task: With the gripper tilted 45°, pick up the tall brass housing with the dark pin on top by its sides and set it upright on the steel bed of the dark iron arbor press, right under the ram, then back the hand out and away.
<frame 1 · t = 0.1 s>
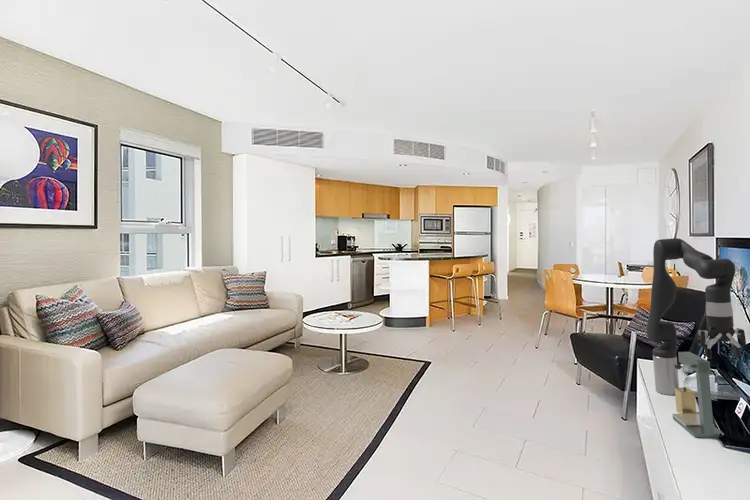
hand: (722, 357, 150), 29 cm above the tv stand, fingers open, 8 cm apart
arbor press: (692, 424, 161), on the tv stand
brass housing: (686, 413, 170), on the tv stand
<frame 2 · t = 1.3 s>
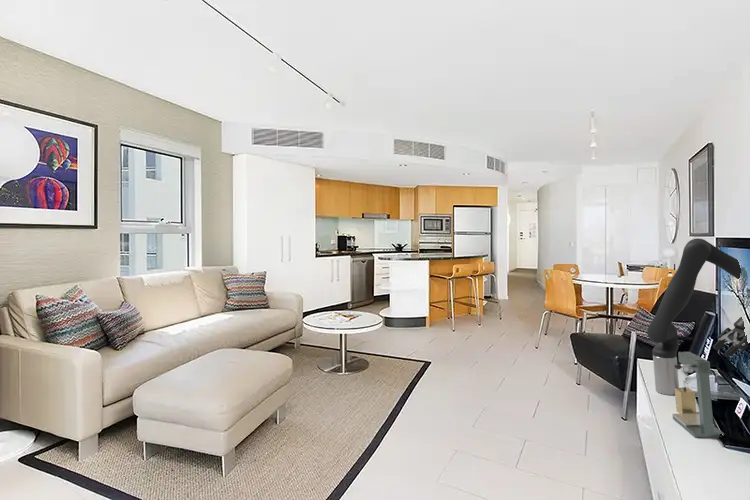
hand: (721, 351, 167), 25 cm above the tv stand, fingers open, 8 cm apart
nothing on the tv stand moved.
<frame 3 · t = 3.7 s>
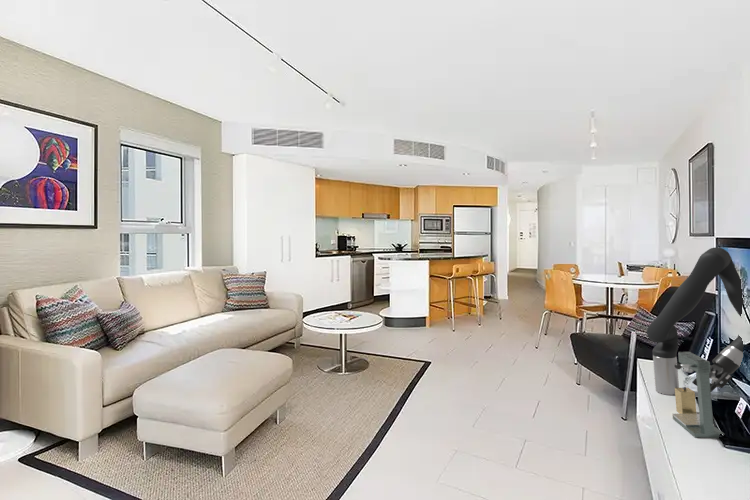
hand: (700, 387, 169), 11 cm above the tv stand, fingers open, 8 cm apart
nothing on the tv stand moved.
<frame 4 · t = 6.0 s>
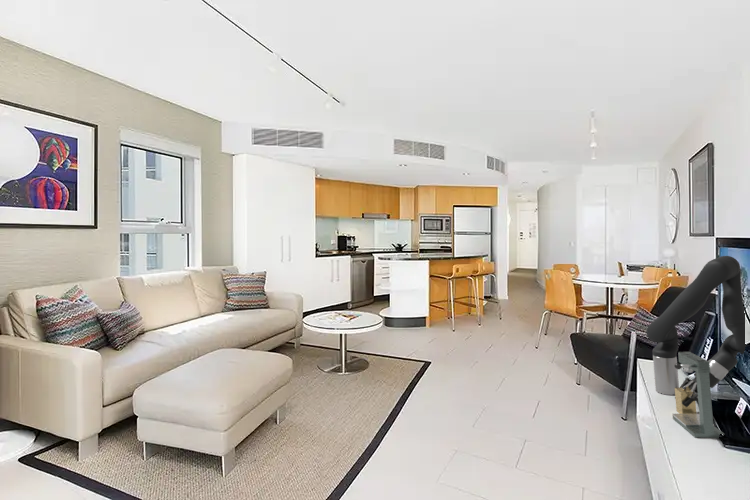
hand: (680, 402, 170), 5 cm above the tv stand, fingers closed on brass housing, 5 cm apart
brass housing: (686, 413, 170), on the tv stand, touching gripper
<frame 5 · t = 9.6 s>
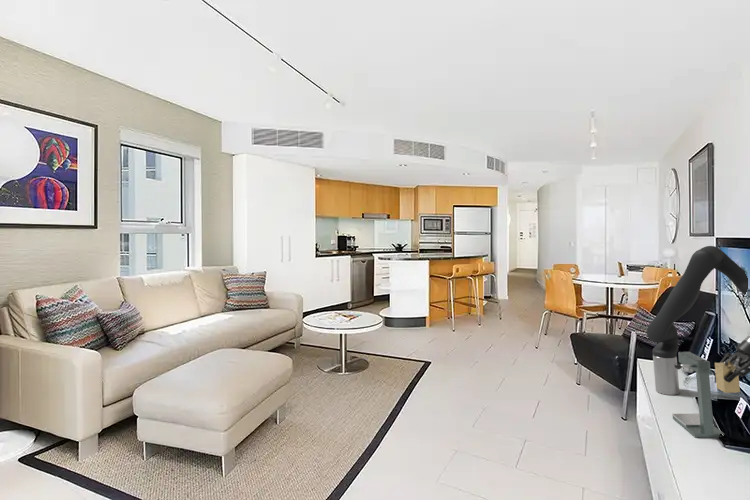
hand: (721, 378, 158), 18 cm above the tv stand, fingers closed on brass housing, 5 cm apart
brass housing: (728, 390, 158), point 13 cm above the tv stand, touching gripper
when the fingers open (8 cm above the tv stand, at t = 13.1 s): brass housing drops 1 cm, resting on arbor press.
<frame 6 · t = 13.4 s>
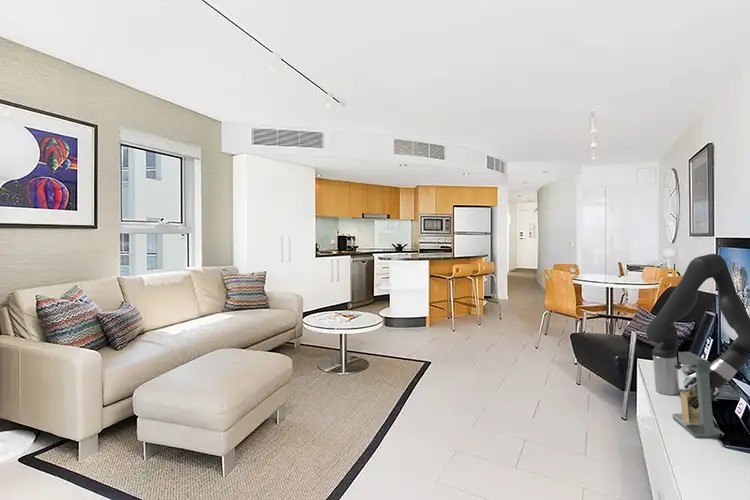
hand: (687, 403, 161), 8 cm above the tv stand, fingers open, 7 cm apart
brass housing: (692, 419, 161), point 2 cm above the tv stand, touching arbor press
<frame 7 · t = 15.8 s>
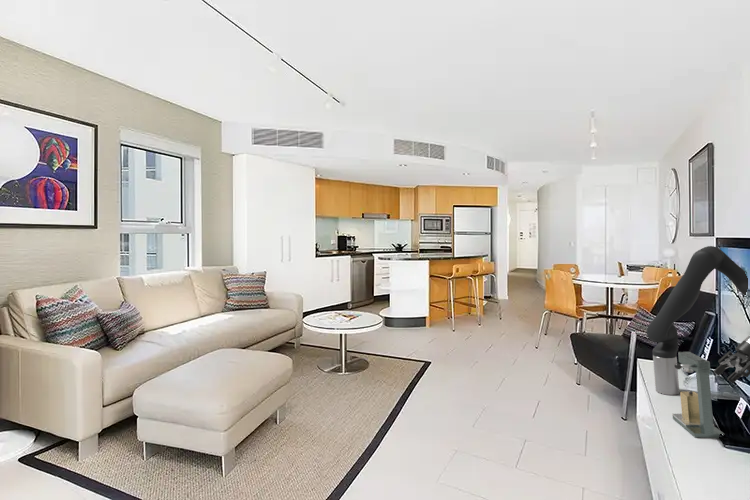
hand: (722, 377, 158), 18 cm above the tv stand, fingers open, 8 cm apart
nothing on the tv stand moved.
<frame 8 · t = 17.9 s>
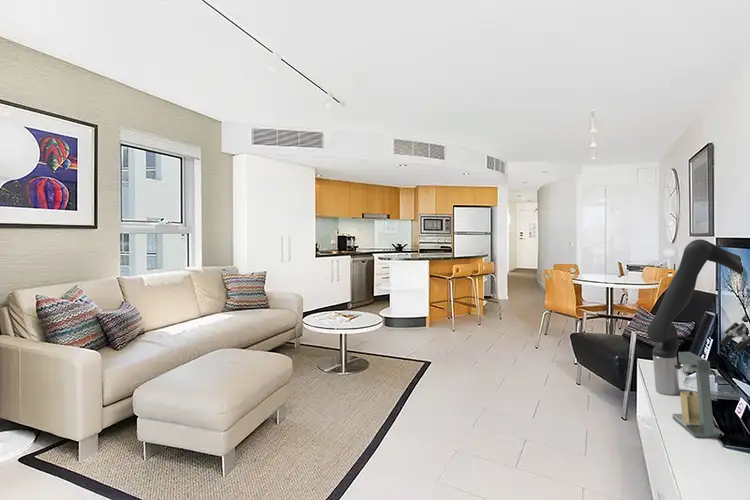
hand: (729, 347, 162), 29 cm above the tv stand, fingers open, 8 cm apart
nothing on the tv stand moved.
at the end: brass housing 0.1 cm off-centre on the arbor press, point 2.1 cm above the arbor press's base; brass housing tilted 0°; the gripper is holding nothing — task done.
